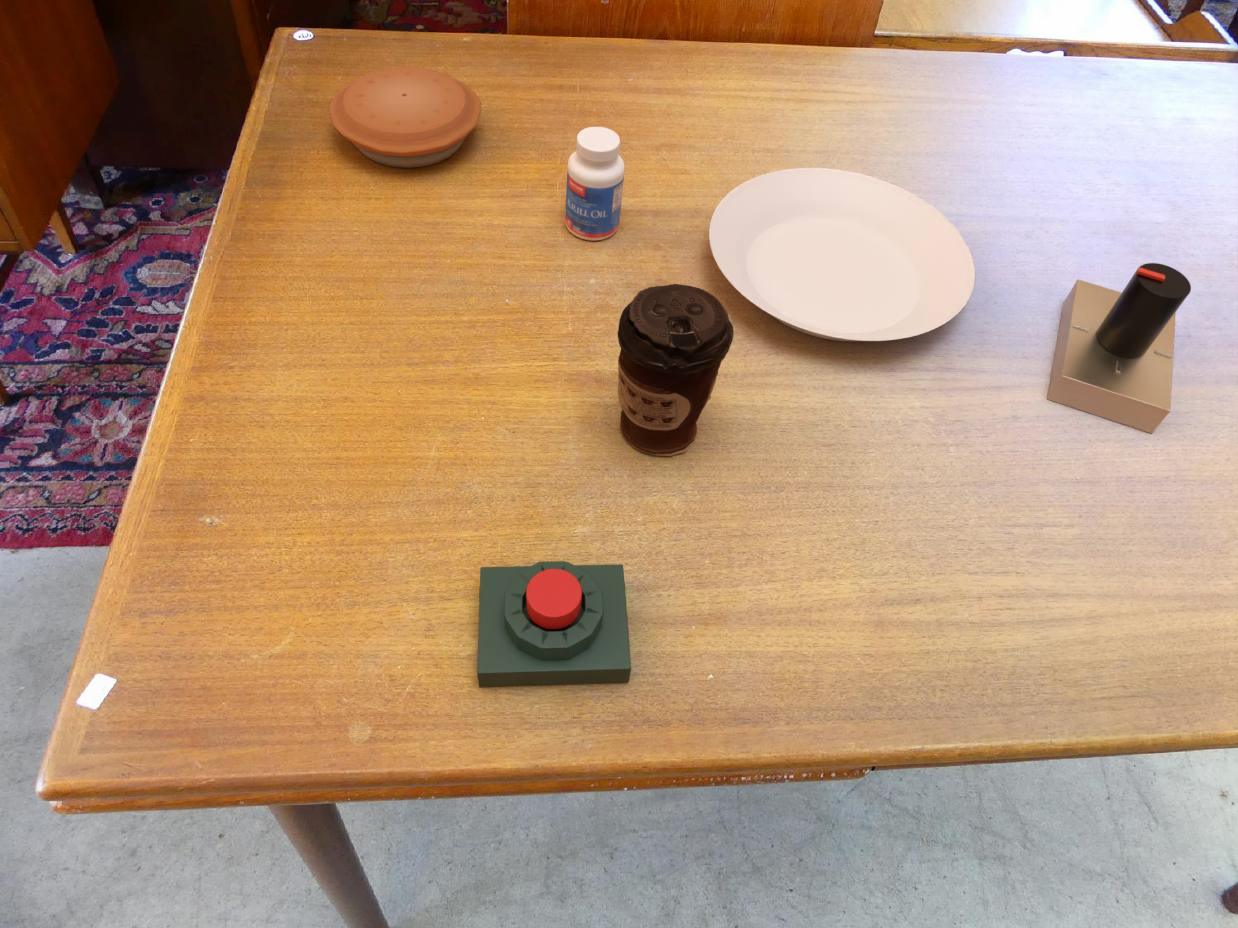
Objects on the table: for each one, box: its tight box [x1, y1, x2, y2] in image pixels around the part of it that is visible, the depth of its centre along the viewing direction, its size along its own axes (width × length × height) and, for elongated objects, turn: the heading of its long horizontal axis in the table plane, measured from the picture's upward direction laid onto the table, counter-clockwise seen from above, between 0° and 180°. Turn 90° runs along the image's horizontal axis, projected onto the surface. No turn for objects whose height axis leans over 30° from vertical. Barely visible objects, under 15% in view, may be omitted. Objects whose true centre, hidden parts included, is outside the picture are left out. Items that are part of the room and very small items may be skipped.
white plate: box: [708, 167, 976, 343], centre depth 88 cm, size 25×25×4 cm
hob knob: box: [1097, 262, 1192, 358], centre depth 79 cm, size 4×4×7 cm
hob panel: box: [1046, 279, 1177, 434], centre depth 83 cm, size 14×9×3 cm, turn 157°
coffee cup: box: [617, 283, 734, 457], centre depth 70 cm, size 9×8×13 cm
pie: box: [328, 66, 482, 169], centre depth 96 cm, size 15×16×5 cm
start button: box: [526, 569, 582, 629], centre depth 60 cm, size 4×4×2 cm
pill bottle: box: [564, 126, 626, 242], centre depth 87 cm, size 6×5×10 cm
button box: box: [476, 560, 632, 688], centre depth 62 cm, size 10×8×4 cm
